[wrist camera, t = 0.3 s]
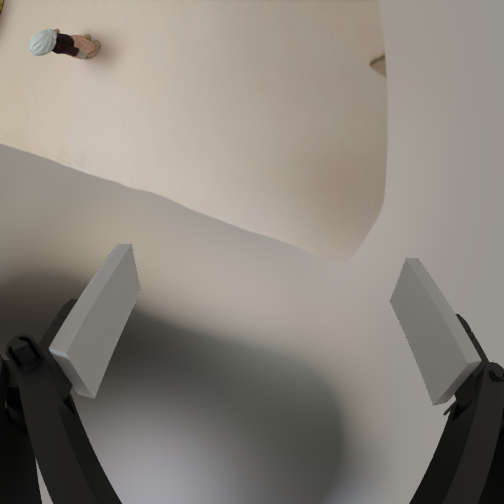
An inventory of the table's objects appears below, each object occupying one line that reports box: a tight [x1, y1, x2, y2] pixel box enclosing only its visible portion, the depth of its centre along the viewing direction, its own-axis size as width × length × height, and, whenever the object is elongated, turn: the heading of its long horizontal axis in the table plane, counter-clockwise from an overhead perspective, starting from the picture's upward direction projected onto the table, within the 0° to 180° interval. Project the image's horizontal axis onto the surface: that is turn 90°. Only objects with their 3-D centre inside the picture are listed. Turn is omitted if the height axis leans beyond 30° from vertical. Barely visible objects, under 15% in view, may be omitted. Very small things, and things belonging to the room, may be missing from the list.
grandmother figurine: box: [28, 29, 100, 59], centre depth 23 cm, size 8×4×13 cm, turn 56°
